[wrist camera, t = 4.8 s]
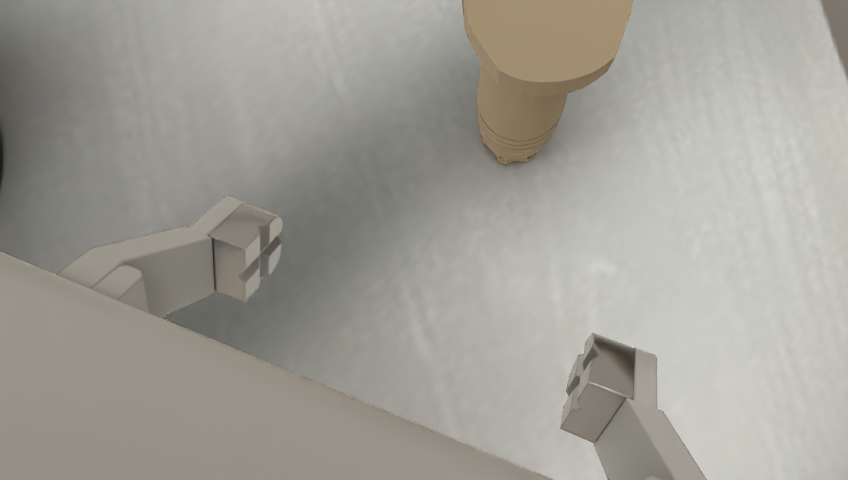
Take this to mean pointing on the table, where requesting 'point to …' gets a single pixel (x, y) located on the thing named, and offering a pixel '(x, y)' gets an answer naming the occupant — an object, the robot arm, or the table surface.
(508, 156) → the handle
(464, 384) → the table surface
